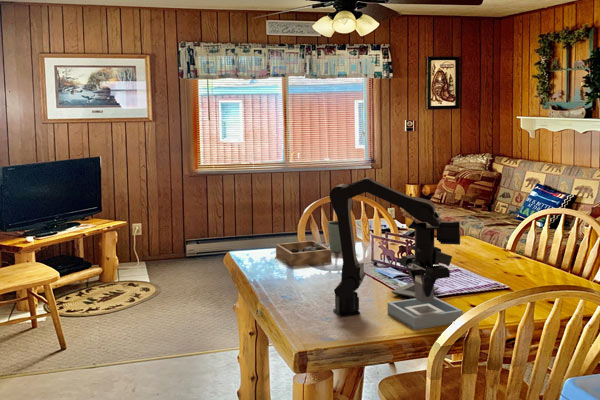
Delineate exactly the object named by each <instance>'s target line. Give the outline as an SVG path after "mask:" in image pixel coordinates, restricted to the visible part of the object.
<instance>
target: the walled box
mask: <svg viewBox="0 0 600 400" xmlns="http://www.w3.org/2000/svg"><path fill="white" fill-rule="evenodd" d="M463 313H464V312H463V310H462V309H460V308H458V307H456V306H454V305H452V304H450V303H448V302H446V301H444V300H442V299H440V298H438V297H436V296H434V301H427V302H421V301H419V300H417V299H415V298H409V299H402V300H395V301H388V302H387V314H388V315H389V316H391V317H393V318H395V319H396V320H398V321H400V322H401V323H403V324H404V325H405V326H408V327H409V328H411V329H412V330H414V331H417V330H421V329H422V330H423V329H428V328H435V327H441V326H446V325H452V324H451V323H452V322H453V321H455V320H456V319H457V318H458V317H460V316H461V315H463Z"/></svg>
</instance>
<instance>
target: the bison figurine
mask: <svg viewBox="0 0 600 400" xmlns="http://www.w3.org/2000/svg"><path fill="white" fill-rule="evenodd" d="M318 243H319V242H318ZM318 243H315V244H314V247H311V246H310V247H305V248H303V249H302V250H301V251H299V250H298V249H296V248H295V249H292V250H291V251H290V252H292V253H298V252H308V251H317V250H323V249H322V247H321V246H320V244H321V243H320V244H318Z"/></svg>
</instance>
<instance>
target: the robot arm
mask: <svg viewBox="0 0 600 400" xmlns="http://www.w3.org/2000/svg"><path fill="white" fill-rule="evenodd" d="M364 193H367V194H370V195H372V196H374V197H377V198H379V199H381V200H383V201H385V202H388V203H390V204H392V205H394V206H397V207H398V208H400V209H402V210H404V211H405V212H406V213H407V214H408V215H409V216H411V217H413V220H412V222H411V223H409V224H408V226H407V227H408V229H414V245H411V250H413V251H414V254H409V255H408V254H407V255H403V256H402V257H400V261H399V262H400V263H399V265H400V266H401V267H404V268H406V267H407V266H408V268H406V271H407V272H408V275H409V276H410V278H411V280H412V283H414V284H415V276H418V275H420V277H421V281H422V284H423V288H424V292H425V295H426V297H429V296H430V294H431V291H432V289H433V286H434V287H435V283H436V281H437V280H438V279H439V280H440V279H446V278H447V279H448V278H450V277H451V270H450V268H448V267H450V266H451V262H452V258H453V256H452V255H449V254H447V253H445V252H442V249H441V248H439V247H437V246H435V233H436V241H438V243H440V245H456V246H457V245H461V232H462V231H461V221H460V220H454V221H449V220H448V221H446V220H445V221H443V220H442V218H441V217H440V215H439V214H438V213H437V212H436V205H435V204H434V202H433V201H432V200H430V199H425V198H422V197H417V196H412V195H409V194H408V195H407V194H405V193H404V192H401V191H398V190H397V189H395V188H393V187H390V186H388V185H386V184H384V183H381V182H379V181H376V180H375V179H373V178H372V177H364V178H363V179H361V180H357V181H355V182H352V183H350V184H346V183H340V184H337V185H336V186H335V187H333V188H332V189H331V190H330V192H329V195H328V196H329V200H330V204H331V206H332V210H333V212H334V214H335V215H336V219H337V220H336V221H338V228H339V235H340V242H341V250H342V252H341V255H342V256H341V257H342V267H341V274H340V275H341V279H340V280H341V281H340V282H339V283H338V284H337V285H336V287H335V288H334V290H333V292H334V302H335V303H334V304H335V305H334V308H333V309H332V310H333V312H334V313H336V314H337V315H339V316H340V317H347V316H353V315H360V314H361V311H360V297H359V296H358V295H359V293H358V292H357V290H358V289H359V288H360V286H361V285H362V284H363V282H364V278H365V277H366V273H365V269H364V268H365V264H364V262H361V263H360V261H358V258H357V251H356V244H355V237H354V229H353V222H352V207H353V198H355V197H357V196H360V195H362V194H364ZM435 230H436V231H435ZM444 265H445V266H444Z"/></svg>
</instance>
